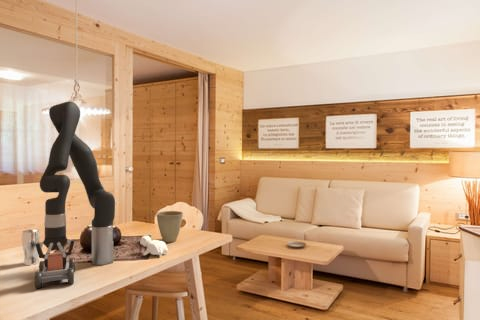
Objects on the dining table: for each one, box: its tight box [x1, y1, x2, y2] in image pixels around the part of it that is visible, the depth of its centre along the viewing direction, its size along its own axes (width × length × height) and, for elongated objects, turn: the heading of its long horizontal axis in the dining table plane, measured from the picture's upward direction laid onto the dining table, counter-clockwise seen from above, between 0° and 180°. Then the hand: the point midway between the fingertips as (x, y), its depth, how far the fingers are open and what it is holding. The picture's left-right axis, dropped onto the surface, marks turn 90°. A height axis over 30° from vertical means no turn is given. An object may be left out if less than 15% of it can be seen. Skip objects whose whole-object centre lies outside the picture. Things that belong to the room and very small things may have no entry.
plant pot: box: [156, 210, 184, 243], centre depth 199 cm, size 15×15×16 cm
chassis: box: [34, 257, 76, 289], centre depth 140 cm, size 13×19×6 cm
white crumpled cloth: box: [139, 235, 169, 258], centre depth 175 cm, size 9×8×15 cm
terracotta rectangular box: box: [48, 251, 63, 271], centre depth 139 cm, size 5×6×6 cm
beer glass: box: [21, 228, 41, 266], centre depth 159 cm, size 7×7×15 cm
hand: (55, 266), depth 139 cm, fingers closed on terracotta rectangular box, 5 cm apart
